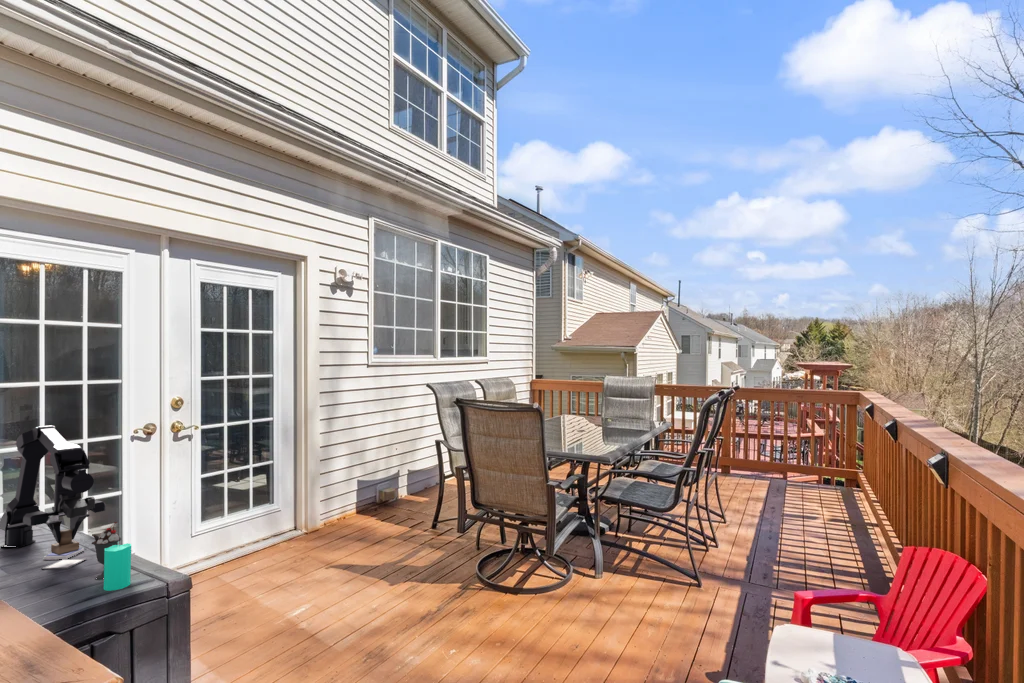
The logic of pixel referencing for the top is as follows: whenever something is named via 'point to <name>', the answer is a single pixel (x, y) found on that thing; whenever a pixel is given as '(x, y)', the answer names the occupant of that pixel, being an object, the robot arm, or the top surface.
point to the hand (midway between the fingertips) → (65, 541)
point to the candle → (117, 567)
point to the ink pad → (63, 556)
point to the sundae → (105, 544)
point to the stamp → (65, 543)
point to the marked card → (64, 564)
